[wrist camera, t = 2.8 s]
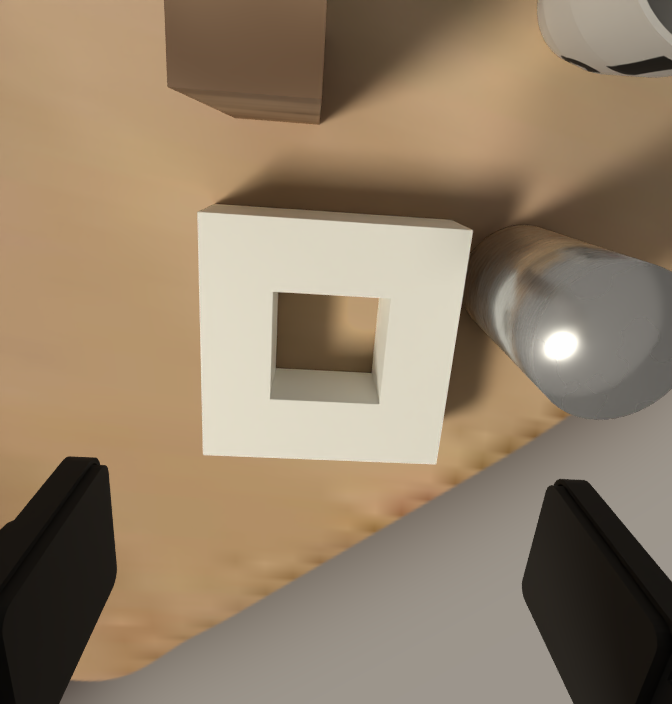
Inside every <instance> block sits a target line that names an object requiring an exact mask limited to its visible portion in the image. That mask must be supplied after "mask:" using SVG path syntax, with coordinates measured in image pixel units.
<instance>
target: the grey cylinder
mask: <svg viewBox="0 0 672 704" xmlns="http://www.w3.org/2000/svg"><path fill="white" fill-rule="evenodd" d="M462 300H463V303H464V306H465V308H466V310H467V312H468V314H469V315H470V317H471V318H472V319H473V320H474V321H475V322H476V323H477V324H478V325H479V326H480V327H481V328H482V329H483V330H484V332H485V333H486V334H487V335H488V336H489V337H490V338H491V339H492V340H493V341H494V342H495V343H496V344H497V345H498V346H499V347H500V348H501V349H502V350H503V351H504V352H505V354H506V355H507V356H508V357H509V358H510V359H511V360H512V361H513V362H514V363H515V364H516V365H517V366H518V367H519V368H520V369H521V370H522V371H523V372H524V373H525V374H526V376H527V377H528V378H529V379H530V380H531V381H532V382H533V383H534V384H535V385H536V386H537V387H538V388H539V389H540V390H541V391H542V392H543V393H544V394H545V395H546V396H547V398H548V399H549V400H550V401H551V402H552V403H553V404H555V405H556V406H557V407H559V408H560V409H562V410H563V411H565V412H567V413H569V414H572V415H574V416H577V417H582V418H585V419H594V420H603V419H604V420H607V419H614V418H619V417H624V416H627V415H630V414H633V413H636V412H638V411H640V410H642V409H644V408H646V407H648V406H650V405H651V404H653V403H655V402H656V401H657V400H659V399H660V398H662V397H663V396H664V395H665V394H666V393H667V392H669V391H670V390H671V389H672V272H671V271H669V270H667V269H665V268H663V267H660V266H657V265H654V264H651V263H648V262H645V261H642V260H639V259H636V258H633V257H630V256H627V255H623V254H620V253H617V252H614V251H611V250H608V249H605V248H602V247H599V246H596V245H593V244H590V243H586V242H583V241H580V240H577V239H574V238H571V237H568V236H565V235H562V234H559V233H556V232H552V231H549V230H546V229H543V228H540V227H536V226H531V225H515V226H510V227H506V228H503V229H501V230H498V231H496V232H495V233H493V234H491V235H490V236H488V237H487V238H485V239H484V240H483V241H482V242H481V243H480V244H479V245H478V246H477V247H476V248H475V249H474V250H473V252H472V253H471V255H470V256H469V260H468V266H467V272H466V279H465V285H464V291H463V298H462Z"/></svg>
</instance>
